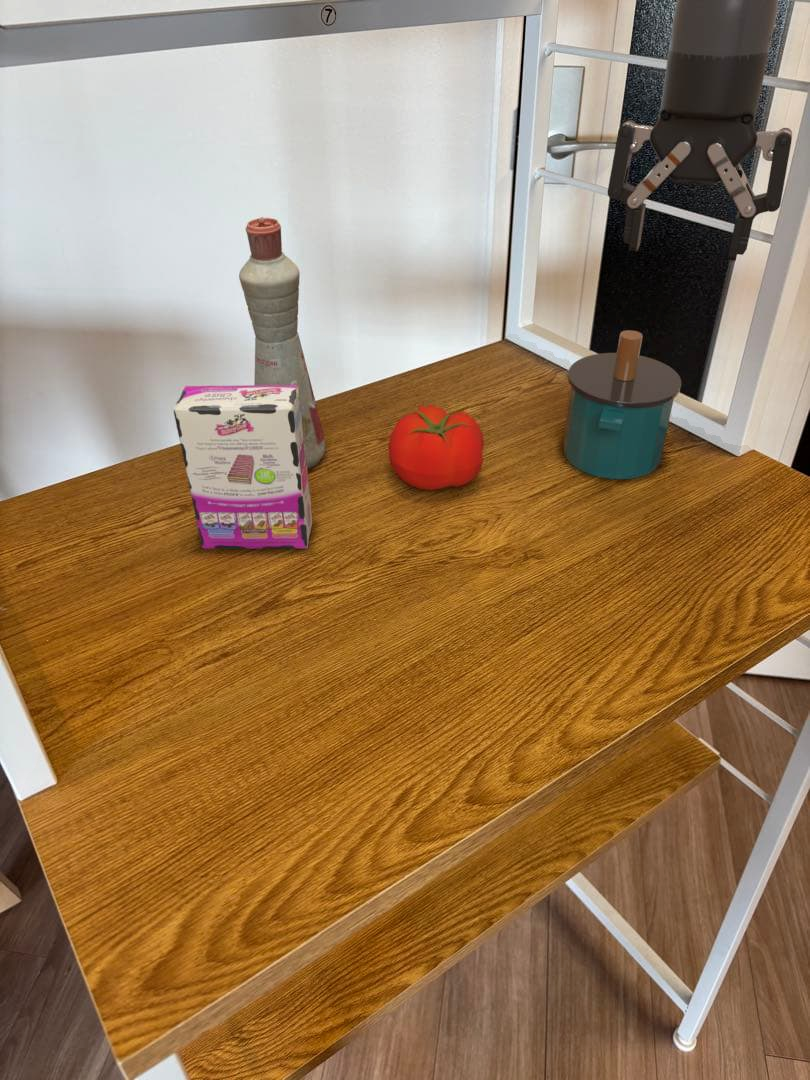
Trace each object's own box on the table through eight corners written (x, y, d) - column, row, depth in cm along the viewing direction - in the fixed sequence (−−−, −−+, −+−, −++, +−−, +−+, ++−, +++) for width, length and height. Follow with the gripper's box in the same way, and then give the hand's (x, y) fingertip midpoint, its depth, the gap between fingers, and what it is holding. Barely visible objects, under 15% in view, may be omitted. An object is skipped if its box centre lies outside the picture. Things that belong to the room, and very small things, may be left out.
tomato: (370, 478, 95) (368, 421, 91) (433, 442, 101) (434, 387, 97) (440, 515, 89) (442, 456, 85) (502, 474, 96) (507, 417, 91)
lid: (684, 371, 97) (695, 320, 93) (672, 421, 87) (684, 367, 84) (578, 355, 100) (585, 306, 96) (556, 401, 91) (563, 349, 87)
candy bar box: (313, 521, 89) (301, 382, 79) (308, 550, 85) (294, 408, 75) (209, 521, 89) (183, 382, 79) (199, 550, 85) (171, 408, 75)
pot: (668, 428, 104) (683, 357, 98) (650, 500, 91) (666, 424, 86) (577, 412, 107) (587, 344, 101) (549, 480, 95) (557, 406, 89)
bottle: (235, 460, 98) (198, 218, 81) (290, 430, 104) (266, 197, 87) (286, 486, 94) (258, 236, 77) (341, 453, 100) (326, 213, 82)
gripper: (619, 49, 64) (595, 258, 74) (817, 53, 60) (764, 275, 70) (634, 38, 70) (610, 234, 80) (817, 41, 66) (768, 248, 75)
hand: (682, 253), depth 75 cm, fingers open, 8 cm apart
